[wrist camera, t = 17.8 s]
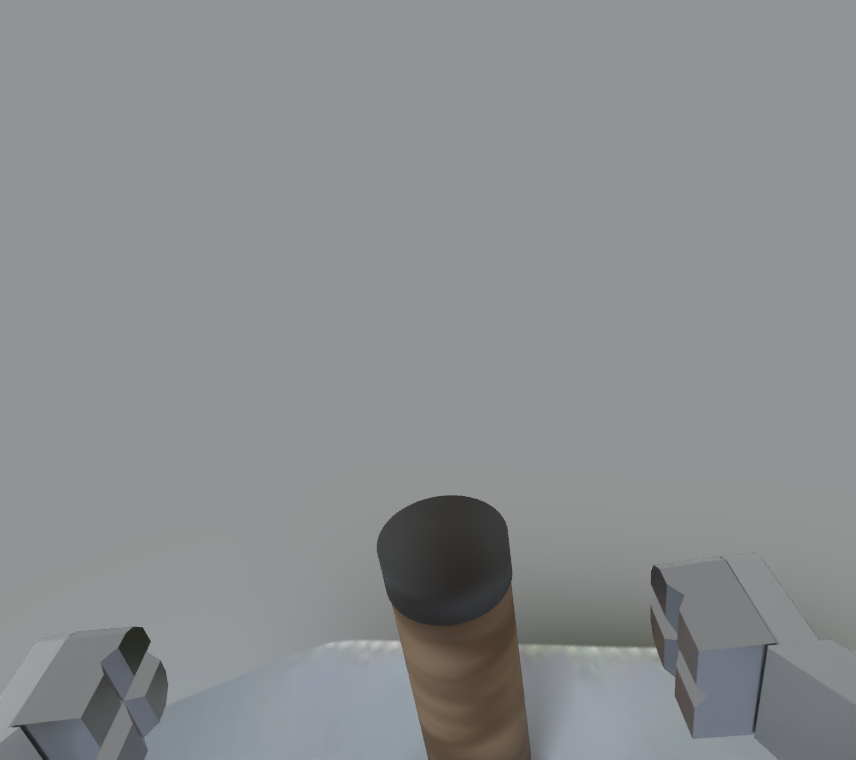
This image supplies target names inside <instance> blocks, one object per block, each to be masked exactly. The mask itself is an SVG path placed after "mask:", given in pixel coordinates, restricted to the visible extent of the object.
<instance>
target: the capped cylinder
mask: <svg viewBox="0 0 856 760" xmlns="http://www.w3.org/2000/svg"><path fill="white" fill-rule="evenodd" d="M377 553H378V558H379V561H380V566H381V570H382V574H383V579H384V583H385V587H386V591H387V595H388V597H389V600H390V601H391V603H392V606H393V610H394V614H395V619H396V623H397V627H398V631H399V635H400V640H401V644H402V649H403V653H404V657H405V661H406V666H407V670H408V674H409V678H410V683H411V687H412V691H413V696H414V700H415V704H416V708H417V713H418V717H419V721H420V725H421V730H422V734H423V738H424V742H425V747H426V751H427V755H428V760H531V752H530V743H529V735H528V726H527V717H526V709H525V700H524V691H523V682H522V674H521V665H520V656H519V647H518V640H517V631H516V621H515V613H514V604H513V597H512V596H513V595H512V586H511V580H512V566H511V556H510V547H509V538H508V529H507V525H506V522H505V520H504V519H503V517H502V516H501V514H500V513H499V512H498V511H497V510H496V509H495V508H493V507H492V506H490V505H489V504H487V503H485V502H483V501H480V500H478V499H474V498H471V497H465V496H438V497H432V498H428V499H424V500H421V501H418V502H416V503H414V504H412V505H409V506H407V507H405V508H404V509H402V510H401V511H399V512H398V513H396V514H395V515H394V516H393V517H392V518H391V519H390V520H389V521H388V522H387V523H386V524H385V526H384V527H383V529H382V530H381V532H380V535H379V538H378V542H377Z"/></svg>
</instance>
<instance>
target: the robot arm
mask: <svg viewBox="0 0 856 760" xmlns="http://www.w3.org/2000/svg"><path fill="white" fill-rule="evenodd" d="M651 585H652V587H653V590H654V592H655V594H656V597H657V598H656V599H655V600H654V601H653V603H652V604H651V605H650V607H651V625H652V631H653V637H654V641H655V645H656V648H657V651H658V654H659V657H660V659H661V662H662V665H663V667H664V669H665V670H667V671H668V672H669V673H671V674H672V675H673V676H675V677H676V679H675V697H676V699H677V702H678V704H679V707H680V709H681V712H682V714H683V716H684V719H685V721H686V724H687V726H688V729H689V731H690V733H691V736H692V738H693V739H696V738H711V737H725V736H739V735H753V734H755V737H754V738H755V739H756V740H758V741H759V742H760V743H761V744H762V745H763V746H764V747H765V748H766V749H767V750H769V751H770V752H771V753H772V754H773V755H774V756H775V757H776V758H777V759H778V760H856V654H855V653H854V652H852V651H850V650H849V649H847V648H845V647H843V646H842V645H840V644H838V643H836V642H835V641H833V640H832V639H826V640H819V638H818V637H817V635H816V634H815V633H814V631H813V630H812V628H811V627H810V625H809V624H808V623H807V621H806V620H805V618H804V617H803V616H802V614H801V613H800V611H799V610H798V608H797V607H796V606H795V604H794V603H793V601H792V600H791V599H790V597H789V596H788V594H787V593H786V592H785V590H784V589H783V587H782V586H781V584H780V583H779V582H778V580H777V579H776V577H775V576H774V574H773V573H772V572H771V570H770V569H769V567H768V566H767V564H766V563H765V562H764V560H763V559H762V557H761V556H759V555H758V554H756V553H754V552H752V553H745V554H736V555H729V556H721V557H719V558H718V557H713V558H704V559H696V560H689V561H682V562H673V563H665V564H657V565H654V566H653V568H652V571H651ZM150 642H151V641H150V639H149V637H148V636H147V634H146V632H145V631H144V629H143V627H123V628H111V629H100V630H90V631H78V632H73V633H62V634H51V635H46V636H45V637H43V638H42V639H41V640H39V641H38V642H36V644H35V645H34V647H33V648H32V650H31V651H30V652H29V654H28V655H27V657H26V658H25V660H24V661H23V663H22V664H21V666H20V667H19V669H18V670H17V672H16V673H15V675H14V676H13V678H12V679H11V680H10V682H9V683H8V685H7V686H6V688H5V690H4V691H3V692H2V694H1V695H0V760H144V759H145V756H146V754H147V751H148V750H147V746H146V743H145V740H144V737H145V736H146V735H147V734H148V733H149V732H150V731H151V730H152V729H153V728H154V727H155V726H156V725H157V724H158V723H159V721H160V719H161V716H162V713H163V711H164V708H165V706H166V699H167V689H168V682H167V676H166V671H165V669H164V667H163V664H162V663H161V660H159V659H157V658H156V657H154V656H152V655H151V654H149V653H148V652H147V649H148V647H149V644H150Z"/></svg>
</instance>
